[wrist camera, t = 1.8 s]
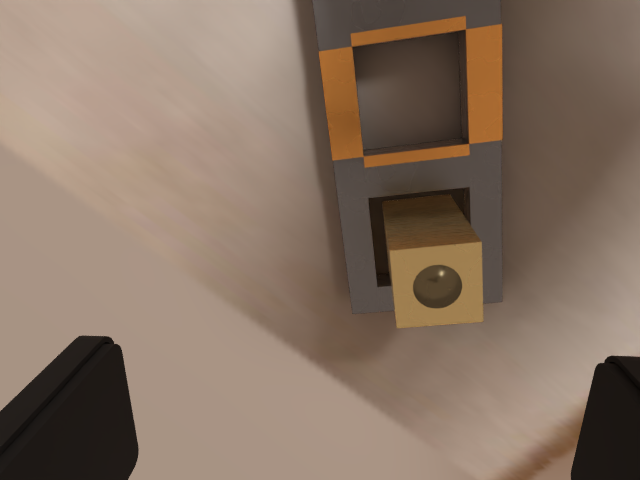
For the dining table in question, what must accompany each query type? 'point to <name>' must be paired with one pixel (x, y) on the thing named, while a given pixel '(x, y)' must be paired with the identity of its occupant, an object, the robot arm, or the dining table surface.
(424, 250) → the brass nut
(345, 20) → the rail
